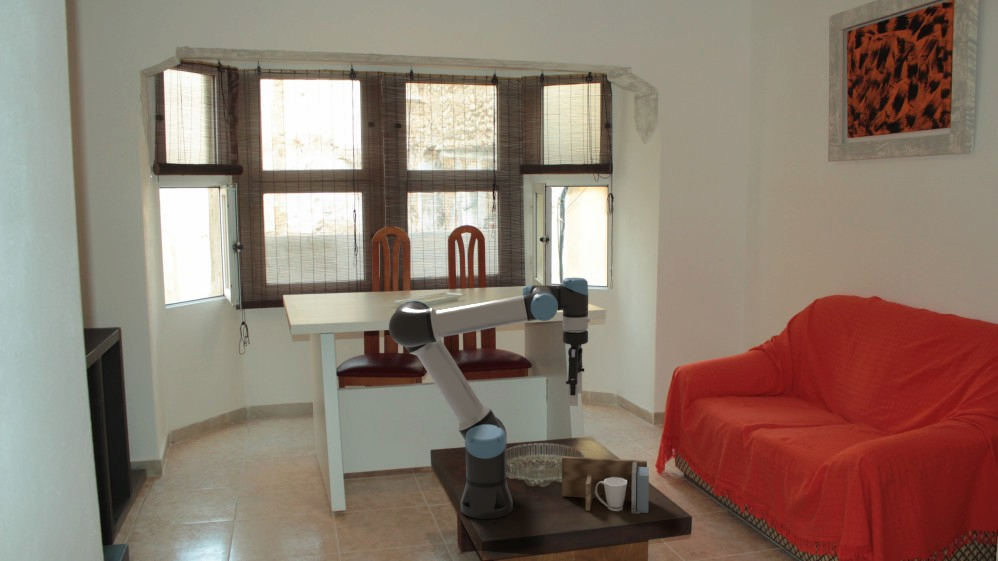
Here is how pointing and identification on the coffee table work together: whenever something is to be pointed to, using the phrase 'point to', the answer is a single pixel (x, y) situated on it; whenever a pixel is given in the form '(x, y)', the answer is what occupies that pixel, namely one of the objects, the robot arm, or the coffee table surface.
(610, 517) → the coffee table surface
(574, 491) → the shelf wall
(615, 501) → the cup
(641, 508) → the shelved book
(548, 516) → the coffee table surface
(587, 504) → the divider
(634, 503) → the bookend
